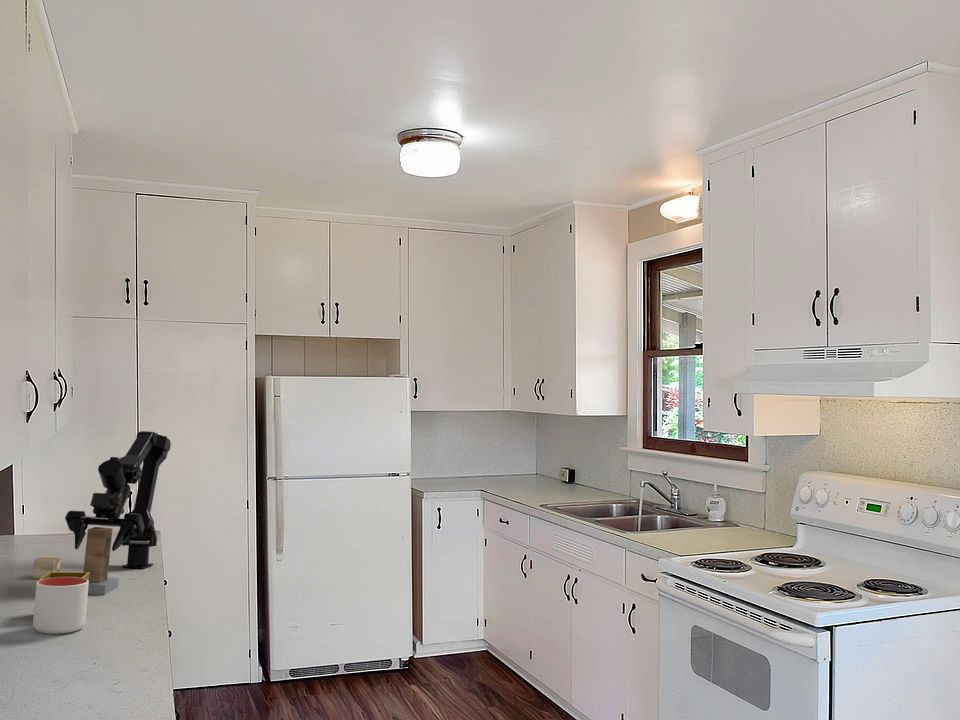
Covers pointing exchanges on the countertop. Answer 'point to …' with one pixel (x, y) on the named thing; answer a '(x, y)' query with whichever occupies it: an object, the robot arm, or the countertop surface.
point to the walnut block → (98, 553)
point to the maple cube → (46, 566)
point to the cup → (60, 605)
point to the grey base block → (102, 586)
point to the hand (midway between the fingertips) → (94, 549)
